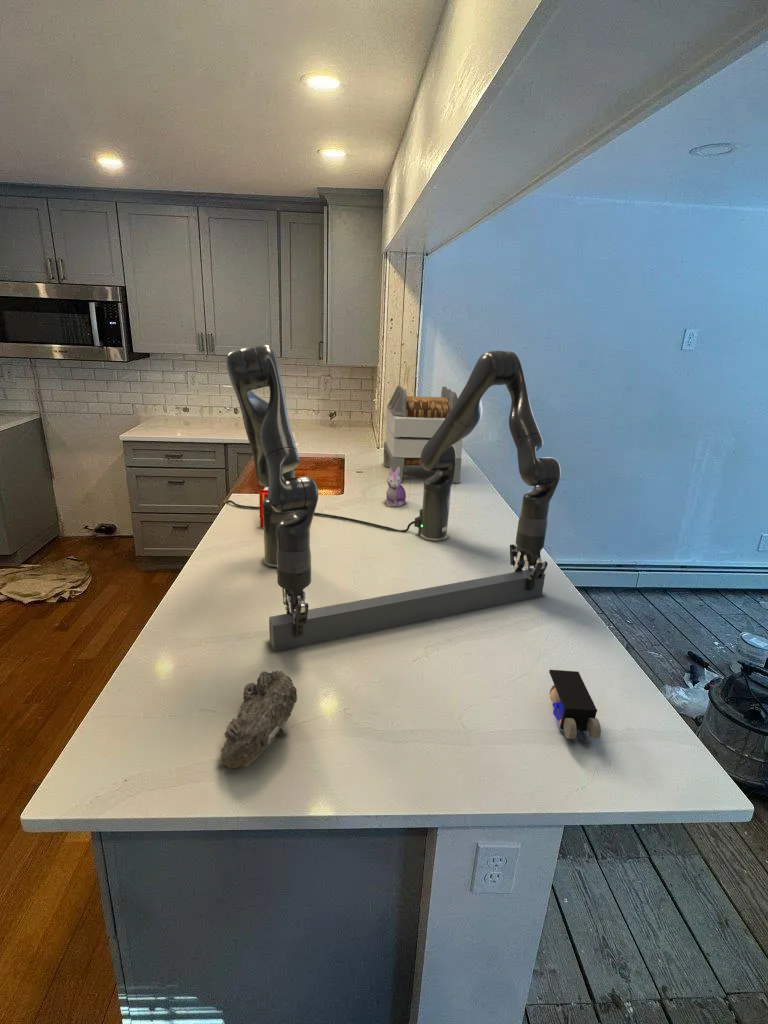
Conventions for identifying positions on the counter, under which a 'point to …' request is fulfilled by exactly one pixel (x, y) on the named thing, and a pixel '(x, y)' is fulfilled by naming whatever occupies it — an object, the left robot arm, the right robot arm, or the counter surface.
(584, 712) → the figurine character
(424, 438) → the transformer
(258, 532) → the counter surface
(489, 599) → the beam
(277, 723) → the fossil
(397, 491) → the figurine
